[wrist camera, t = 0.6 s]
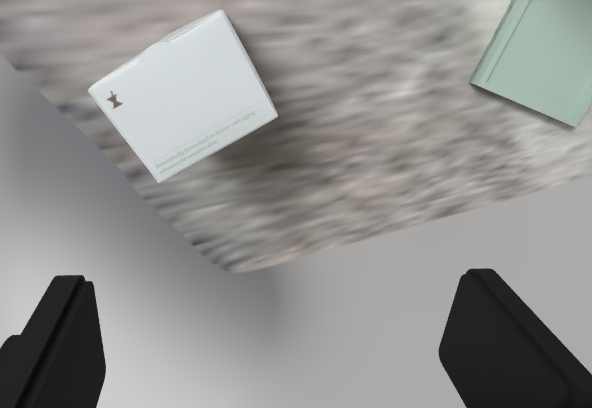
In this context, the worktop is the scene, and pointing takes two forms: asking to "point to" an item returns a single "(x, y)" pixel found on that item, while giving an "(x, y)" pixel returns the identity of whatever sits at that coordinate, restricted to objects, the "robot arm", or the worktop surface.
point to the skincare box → (186, 96)
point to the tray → (542, 58)
